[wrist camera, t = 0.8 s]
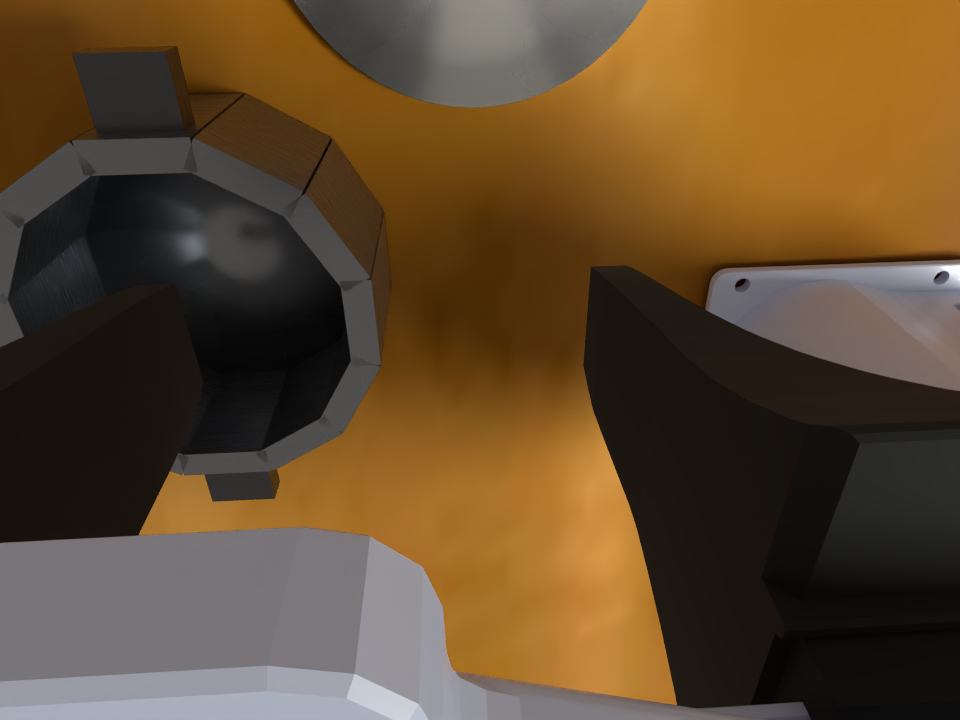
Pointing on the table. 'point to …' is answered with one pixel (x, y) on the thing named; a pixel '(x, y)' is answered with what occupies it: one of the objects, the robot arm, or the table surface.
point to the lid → (471, 43)
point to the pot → (211, 256)
